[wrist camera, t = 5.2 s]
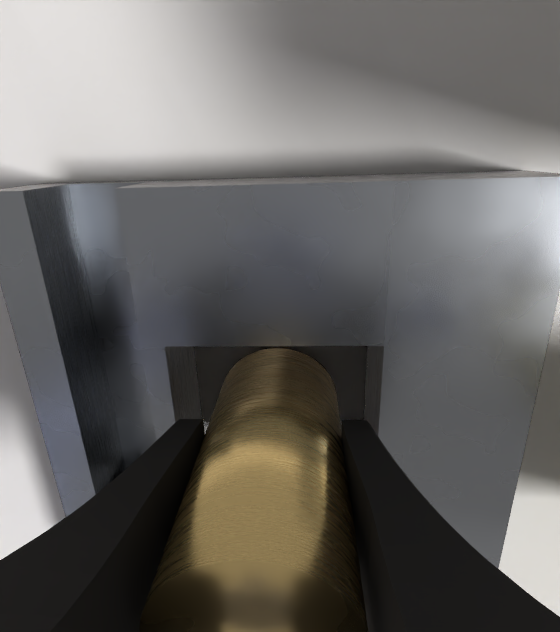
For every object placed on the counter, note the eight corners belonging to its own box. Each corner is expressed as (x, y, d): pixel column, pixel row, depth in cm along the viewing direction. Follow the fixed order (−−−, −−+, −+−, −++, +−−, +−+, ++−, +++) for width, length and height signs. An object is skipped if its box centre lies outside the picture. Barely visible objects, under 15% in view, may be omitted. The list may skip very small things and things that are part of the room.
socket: (119, 533, 16) (88, 596, 14) (40, 183, 12) (-26, 192, 9) (461, 542, 16) (488, 610, 13) (525, 170, 11) (584, 175, 9)
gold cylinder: (226, 447, 14) (156, 708, 7) (216, 348, 13) (121, 559, 6) (336, 448, 14) (365, 719, 7) (337, 347, 12) (374, 564, 6)
